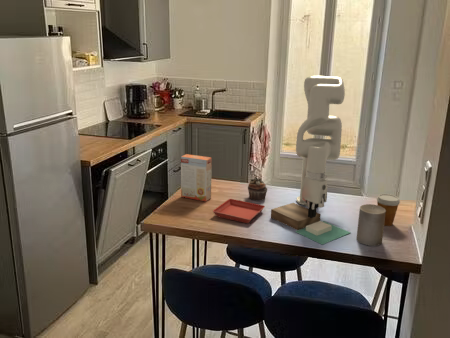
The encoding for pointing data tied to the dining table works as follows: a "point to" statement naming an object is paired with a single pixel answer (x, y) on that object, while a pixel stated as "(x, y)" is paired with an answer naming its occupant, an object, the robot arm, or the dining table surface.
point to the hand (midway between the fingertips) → (311, 216)
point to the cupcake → (257, 189)
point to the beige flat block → (318, 228)
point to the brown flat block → (294, 216)
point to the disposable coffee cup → (388, 207)
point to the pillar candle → (371, 224)
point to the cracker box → (196, 177)
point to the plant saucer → (238, 210)
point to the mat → (324, 234)
